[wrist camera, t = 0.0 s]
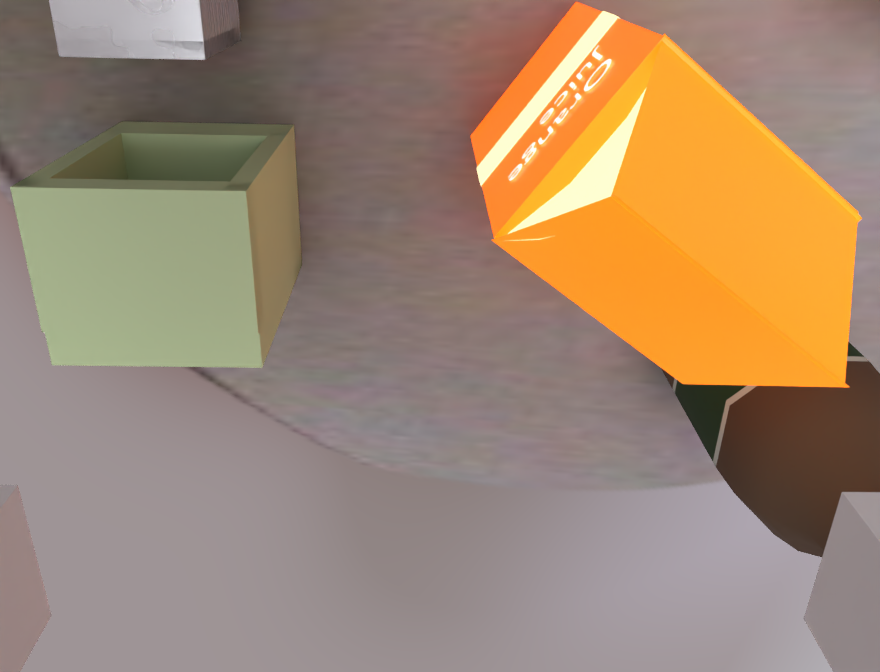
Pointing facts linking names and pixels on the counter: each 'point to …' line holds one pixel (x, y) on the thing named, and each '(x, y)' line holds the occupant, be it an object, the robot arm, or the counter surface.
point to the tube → (145, 28)
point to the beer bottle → (792, 446)
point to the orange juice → (668, 209)
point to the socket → (164, 244)
